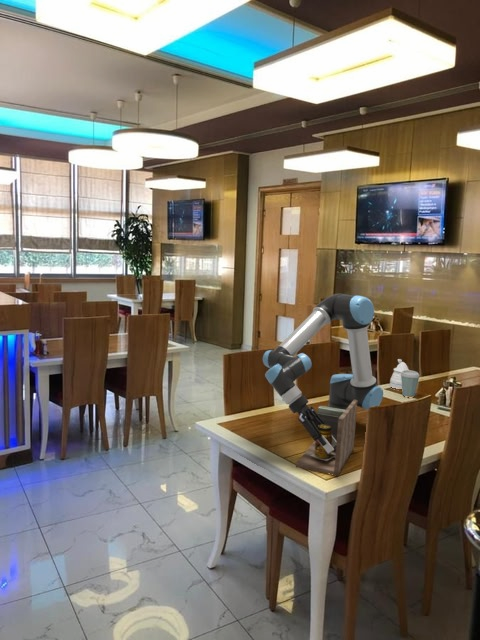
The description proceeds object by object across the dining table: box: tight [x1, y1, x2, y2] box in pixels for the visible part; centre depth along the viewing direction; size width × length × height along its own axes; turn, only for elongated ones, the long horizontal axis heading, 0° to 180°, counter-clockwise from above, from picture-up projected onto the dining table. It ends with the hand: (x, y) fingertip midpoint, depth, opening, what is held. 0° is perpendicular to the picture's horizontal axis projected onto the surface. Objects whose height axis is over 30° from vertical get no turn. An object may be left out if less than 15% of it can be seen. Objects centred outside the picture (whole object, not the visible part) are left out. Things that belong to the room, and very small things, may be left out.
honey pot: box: [389, 358, 409, 389], centre depth 310 cm, size 13×13×18 cm
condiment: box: [310, 424, 336, 461], centre depth 191 cm, size 7×8×12 cm
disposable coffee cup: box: [401, 369, 420, 397], centre depth 291 cm, size 11×11×15 cm
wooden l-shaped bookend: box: [295, 400, 358, 476], centre depth 195 cm, size 28×16×22 cm, turn 156°
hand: (333, 448), depth 189 cm, fingers closed on condiment, 6 cm apart
